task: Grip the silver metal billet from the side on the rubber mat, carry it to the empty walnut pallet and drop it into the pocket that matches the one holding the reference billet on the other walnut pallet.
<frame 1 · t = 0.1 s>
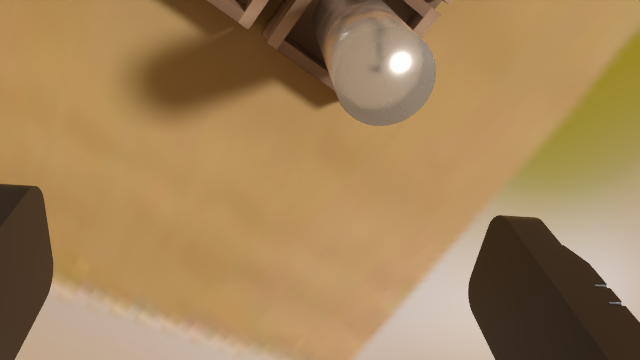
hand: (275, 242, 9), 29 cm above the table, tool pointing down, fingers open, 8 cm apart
reference billet: (349, 21, 36), point 1 cm above the table, touching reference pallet
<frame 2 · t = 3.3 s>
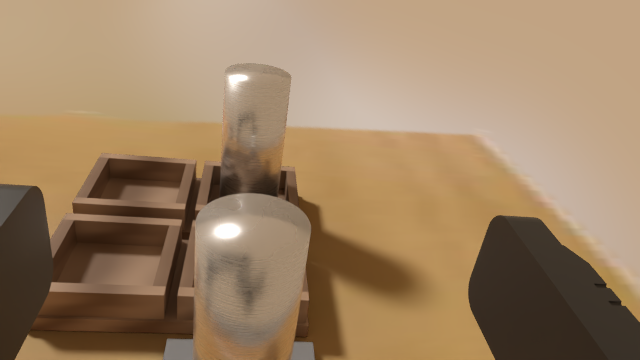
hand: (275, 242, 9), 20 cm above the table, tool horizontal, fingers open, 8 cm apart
reference billet: (248, 206, 45), point 1 cm above the table, touching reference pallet
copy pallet: (179, 287, 37), on the table
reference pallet: (195, 212, 45), on the table
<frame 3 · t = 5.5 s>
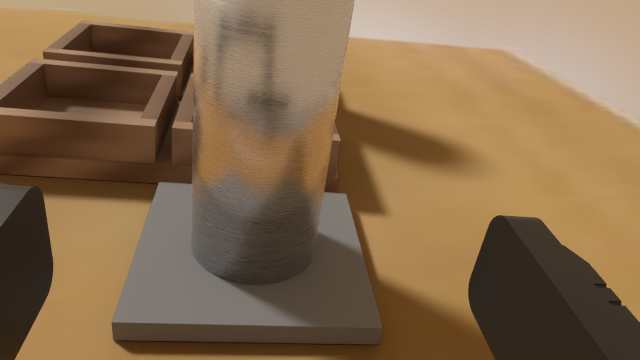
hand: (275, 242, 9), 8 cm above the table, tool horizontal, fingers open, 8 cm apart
steel billet: (254, 244, 21), point 1 cm above the table, touching rubber mat
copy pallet: (175, 145, 29), on the table
rubber mat: (252, 259, 21), on the table
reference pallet: (194, 88, 38), on the table
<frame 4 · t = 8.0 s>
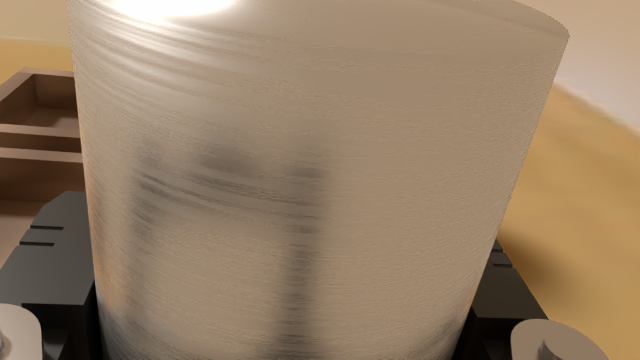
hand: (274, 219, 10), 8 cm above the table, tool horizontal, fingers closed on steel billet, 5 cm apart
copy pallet: (134, 277, 20), on the table
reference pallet: (172, 160, 28), on the table
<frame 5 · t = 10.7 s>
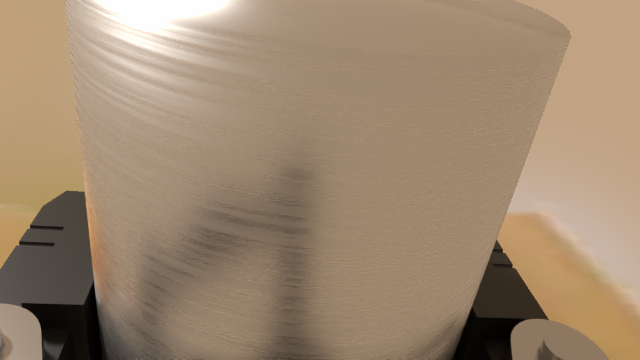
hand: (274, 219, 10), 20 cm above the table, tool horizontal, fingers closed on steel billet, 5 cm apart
when the fingers open (9 cm above the table, at t = 13.4 s): steel billet drops 1 cm, resting on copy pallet.
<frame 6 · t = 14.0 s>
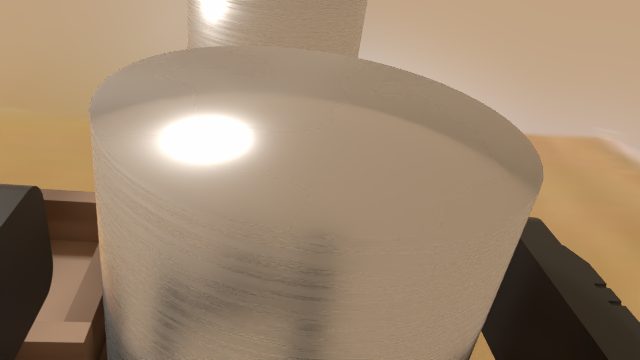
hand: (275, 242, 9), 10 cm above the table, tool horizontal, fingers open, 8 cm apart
reference billet: (251, 300, 20), point 1 cm above the table, touching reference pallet
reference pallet: (132, 316, 20), on the table
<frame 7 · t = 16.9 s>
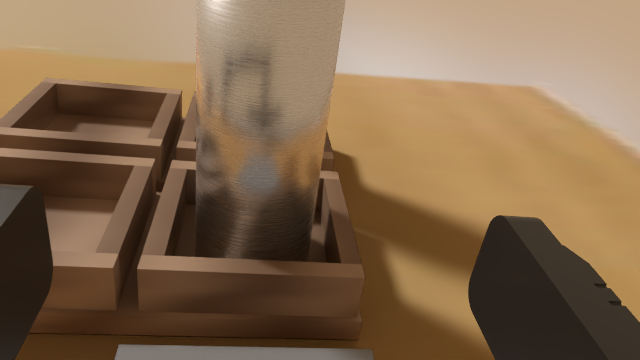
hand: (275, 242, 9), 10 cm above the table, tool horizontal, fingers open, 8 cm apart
steel billet: (252, 248, 23), point 1 cm above the table, touching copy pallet
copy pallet: (149, 261, 23), on the table
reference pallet: (179, 161, 31), on the table
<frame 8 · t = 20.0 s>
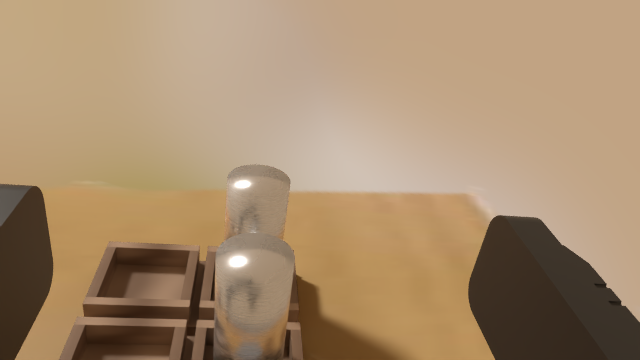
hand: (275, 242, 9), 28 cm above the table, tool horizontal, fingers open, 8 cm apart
reference billet: (249, 293, 47), point 1 cm above the table, touching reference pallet
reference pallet: (198, 299, 47), on the table
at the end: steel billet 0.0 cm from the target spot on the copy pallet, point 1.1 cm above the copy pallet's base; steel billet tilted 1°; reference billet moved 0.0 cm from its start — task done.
